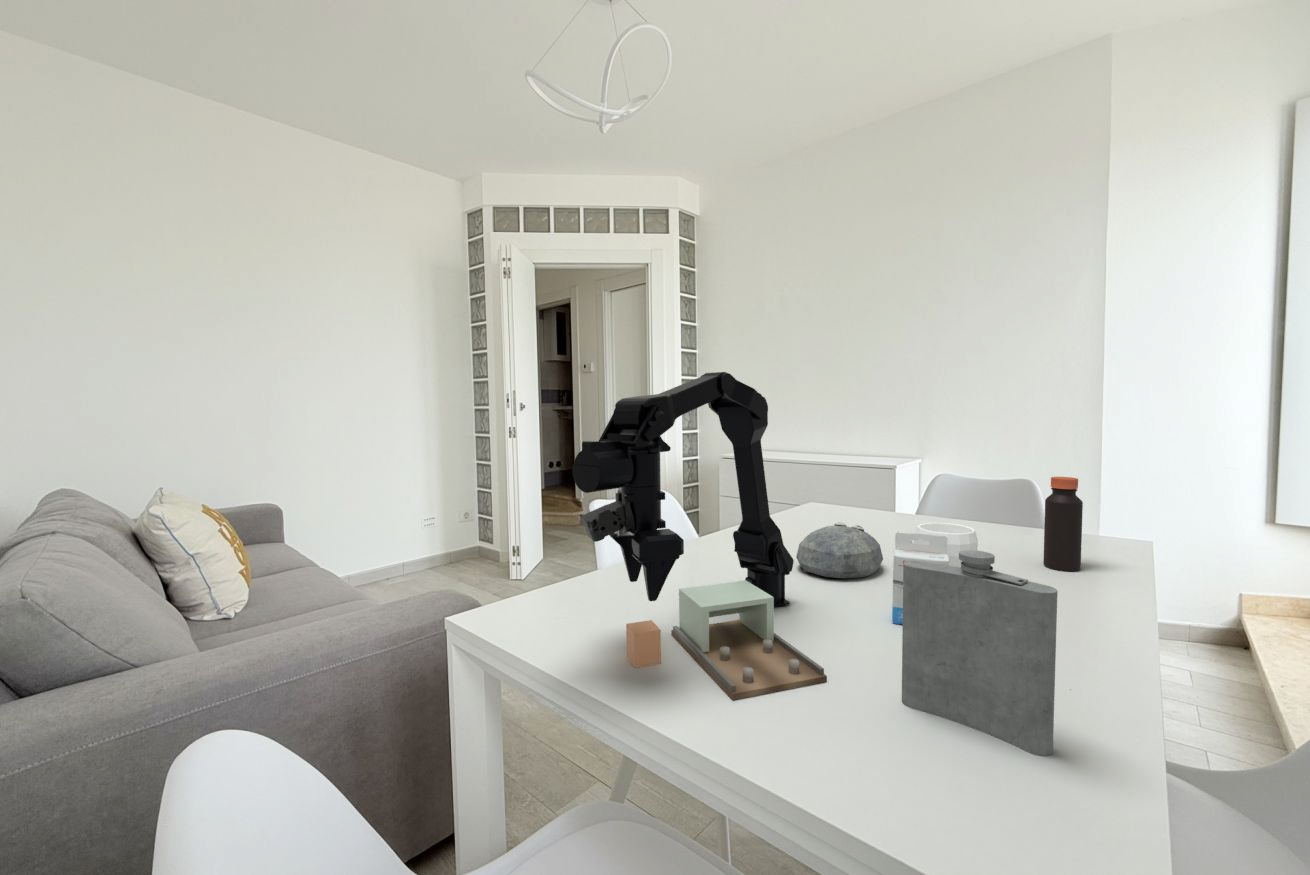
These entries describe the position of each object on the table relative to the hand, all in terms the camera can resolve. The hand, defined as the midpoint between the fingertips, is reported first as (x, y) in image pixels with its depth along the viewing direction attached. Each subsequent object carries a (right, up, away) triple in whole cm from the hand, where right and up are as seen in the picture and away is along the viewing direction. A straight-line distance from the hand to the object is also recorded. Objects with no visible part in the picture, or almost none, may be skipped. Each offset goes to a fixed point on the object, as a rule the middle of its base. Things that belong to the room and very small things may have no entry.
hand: (642, 590), depth 84 cm
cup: (+65, -7, +42) cm, 78 cm away
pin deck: (+15, -10, +1) cm, 18 cm away
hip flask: (+39, -11, -17) cm, 44 cm away
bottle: (+92, -7, +43) cm, 102 cm away
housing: (+13, -10, +6) cm, 17 cm away
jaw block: (0, -10, 0) cm, 10 cm away
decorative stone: (+43, -8, +45) cm, 63 cm away
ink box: (+47, -9, +13) cm, 49 cm away
